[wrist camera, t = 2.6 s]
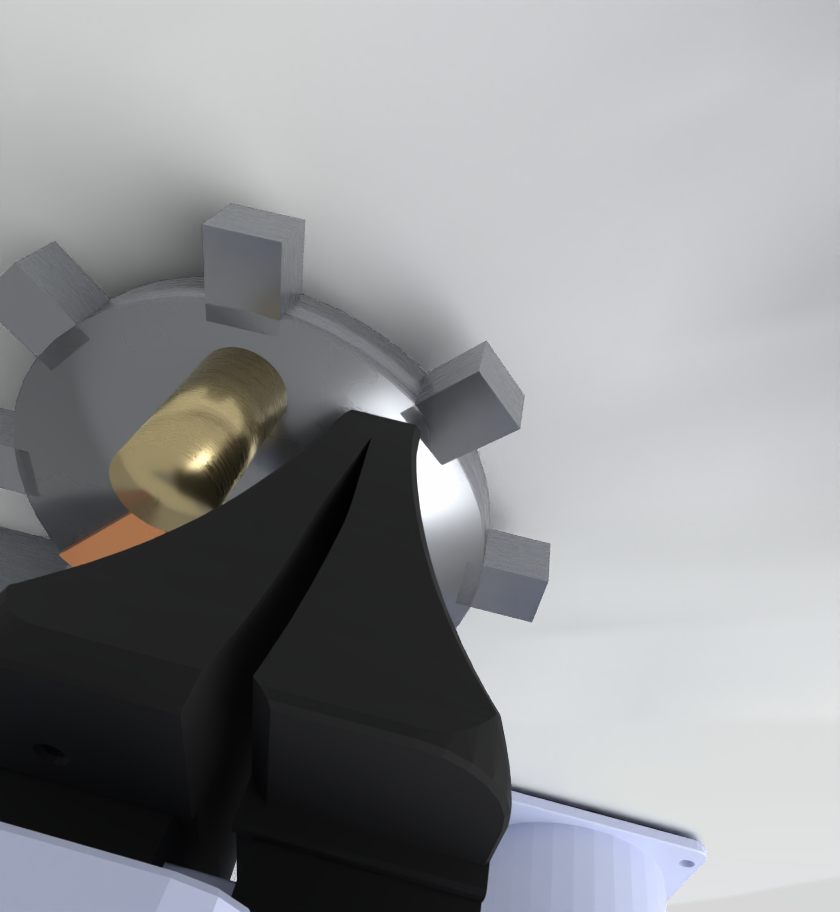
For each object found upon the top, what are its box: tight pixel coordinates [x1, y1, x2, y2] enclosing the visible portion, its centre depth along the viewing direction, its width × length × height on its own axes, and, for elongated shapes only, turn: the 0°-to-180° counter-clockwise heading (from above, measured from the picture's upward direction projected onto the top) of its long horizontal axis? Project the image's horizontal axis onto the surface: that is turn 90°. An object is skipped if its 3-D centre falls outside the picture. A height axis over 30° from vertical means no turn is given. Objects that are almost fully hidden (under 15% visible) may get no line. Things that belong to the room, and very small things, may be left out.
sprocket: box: [0, 203, 550, 628], centre depth 15 cm, size 14×14×4 cm
